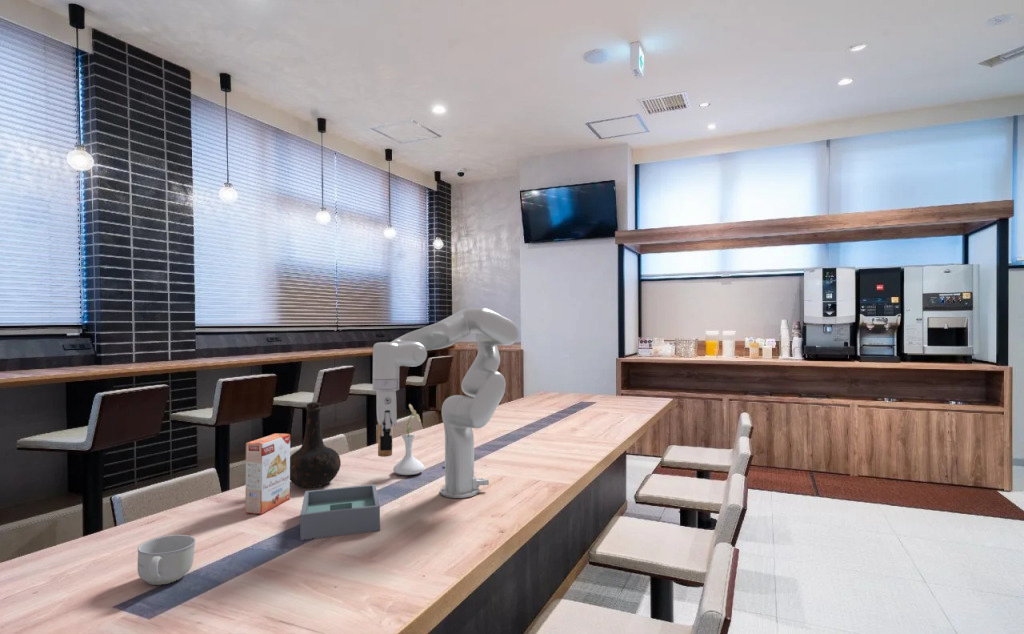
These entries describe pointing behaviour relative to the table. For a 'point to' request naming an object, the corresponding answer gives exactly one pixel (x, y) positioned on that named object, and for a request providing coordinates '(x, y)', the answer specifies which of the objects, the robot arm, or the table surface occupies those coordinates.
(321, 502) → the bore box
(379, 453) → the peg
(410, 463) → the flower in vase
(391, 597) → the table surface
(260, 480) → the cracker box
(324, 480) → the dark brown vase
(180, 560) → the teacup
